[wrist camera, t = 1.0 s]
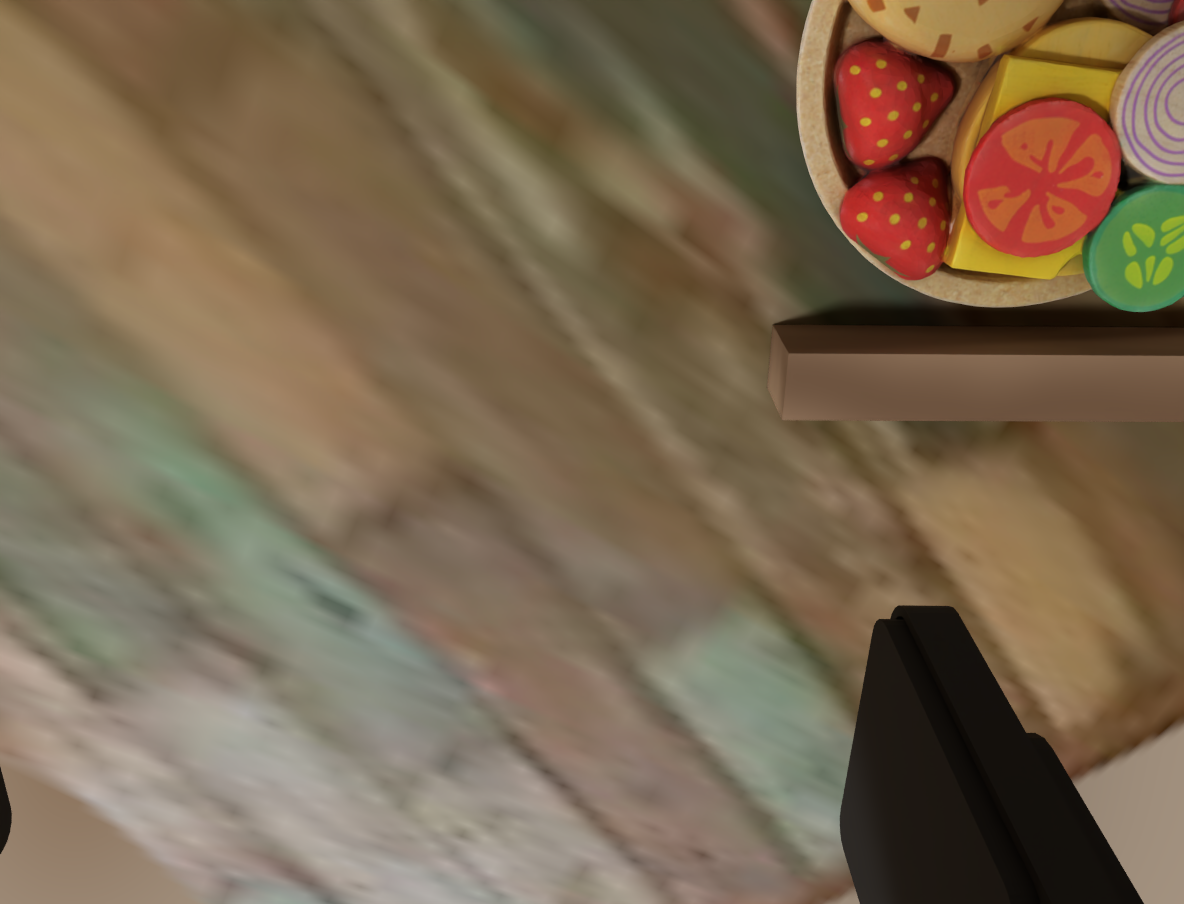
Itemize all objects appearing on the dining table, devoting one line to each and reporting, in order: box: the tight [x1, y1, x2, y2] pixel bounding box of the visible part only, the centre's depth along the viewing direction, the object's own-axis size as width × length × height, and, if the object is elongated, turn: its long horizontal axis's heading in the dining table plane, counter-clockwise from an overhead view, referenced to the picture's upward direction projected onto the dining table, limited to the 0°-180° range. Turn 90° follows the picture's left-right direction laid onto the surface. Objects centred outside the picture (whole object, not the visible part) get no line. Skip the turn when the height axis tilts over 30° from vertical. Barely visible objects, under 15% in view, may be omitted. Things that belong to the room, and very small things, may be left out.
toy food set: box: [797, 0, 1184, 312], centre depth 29 cm, size 13×13×3 cm
